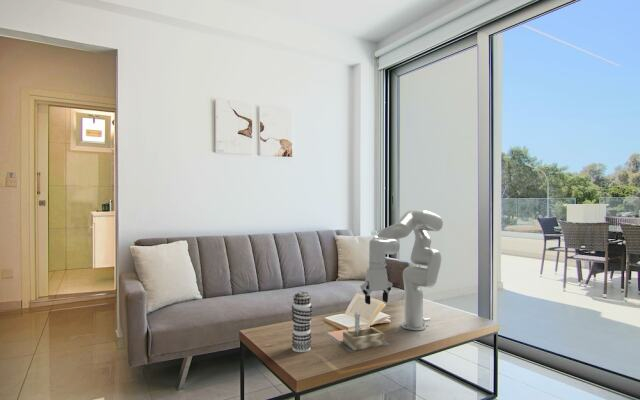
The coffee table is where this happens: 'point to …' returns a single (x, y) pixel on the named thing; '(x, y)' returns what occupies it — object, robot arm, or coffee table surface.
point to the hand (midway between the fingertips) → (376, 302)
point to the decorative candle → (301, 322)
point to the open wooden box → (363, 338)
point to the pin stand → (338, 335)
